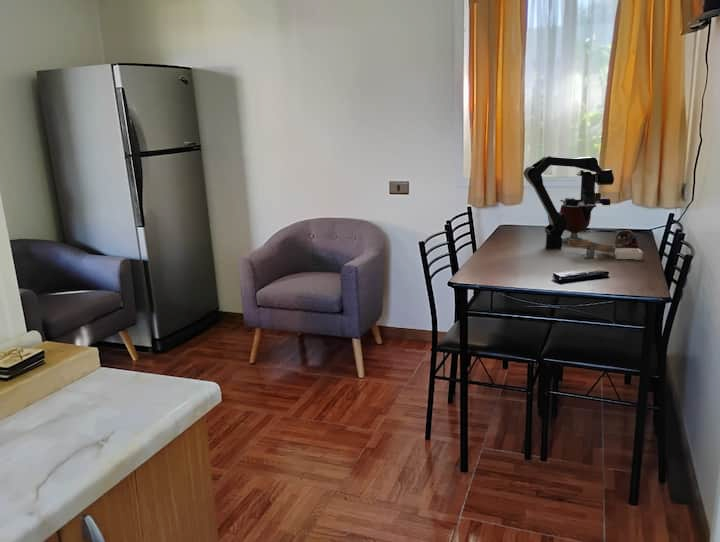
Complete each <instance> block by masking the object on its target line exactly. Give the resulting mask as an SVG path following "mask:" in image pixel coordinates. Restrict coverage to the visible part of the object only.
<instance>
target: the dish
mask: <svg viewBox="0 0 720 542" xmlns="http://www.w3.org/2000/svg"><path fill="white" fill-rule="evenodd" d="M615 248H616V247H615ZM633 249H634V248H629V247H628V248H625V247H624V248H618V247H617V248H616V249H615V253H612V256H614V257H615V258H616V259H635V260H634V261H643V260H644V252H643V251H642V249H640V248H635V249H636V250H638V252H631V251H632V250H633ZM614 257H613V258H614ZM615 258H614V259H615ZM616 259H615V260H616Z"/></svg>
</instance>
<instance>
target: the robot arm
mask: <svg viewBox="0 0 720 542" xmlns="http://www.w3.org/2000/svg"><path fill="white" fill-rule="evenodd" d="M550 166H556V167H558V166H559V167H572V168H577V169H579V170H580V169H581V170H580V171H578V173H576V176H579V177H581V181H580V182H581V183H580V198H579V199H575V197H565V198H564V200H563V201H564V203H563V204H565V205H574V204H578V205H577V206H578V207H580V208H581V210H582V212H583V216H584V219H585V221H587V220H588V217H589V215H590V213H591V214H592V211H593V209H594V208H597V204H601V205H602V206H611V199H610V198H609V197H601V192H596V189H595V187H596V184H597V186H612V185H613V184H614V181H615V177H614V173H613V169H602V168H601V167H600V165H599V161H598V159H597V158H596V157H592V156H583V157H582V156H581V157H580V156H579V157H574V158H572V157H562V156H561V157H560V156H550V155H549V156H548V155H545V156H543V157H542V158H541V159H540V160H538V161H536V162H534V163H533V164H532V165H530V166H527V167H526V168H524V170H523V176H524V178H525V179H526V181H527V182H528V183H529V184H530V186H532V188H533V189H534V191H535V193H536V195H537V196H538V199H539V201H540V203H541V204H542V206H543V209H544V210H545V212H546V215H547V221H548V225H547V226H546V227H544V230H543V231H544V233H545V245H544V247H545V249H546V250H562V247H563V241H562V237H563V233H564V232H565V231H567V230H566V228H567V223H566V222H568V221H567V220H566V219H565V217H564V214H563V213H560V211H557V209H556V207H555V205H554V202H553V201H552V199H551V197H550V195H549V193H548V190H546V187H545V186H544V180H543V175H542V174H543V173H545V171H547V169H548V168H550ZM585 170H586V171H585ZM585 204H586V205H587V204H588V205H587V212H586V206H585Z"/></svg>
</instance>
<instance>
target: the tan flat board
mask: <svg viewBox="0 0 720 542" xmlns="http://www.w3.org/2000/svg"><path fill="white" fill-rule="evenodd" d="M568 237H569V241H568V242H567V244H568V246H569V247H572V248H578V249H585V250H587V249H590V247H595V252H596V251H597V252H602V253H610V254H613V253H615V249H616V247H614V245H610V244H605V243H598V242H597V243H596V242H592V241H587V242H586V241H579V240H573V239H571V238H570V236H568Z"/></svg>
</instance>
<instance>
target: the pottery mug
mask: <svg viewBox="0 0 720 542" xmlns="http://www.w3.org/2000/svg"><path fill="white" fill-rule="evenodd" d="M614 237H615V240H614V245H615V247H618V245H624V244H627V243H628V245H636V247H639V241H638V239H637V238H638V237H637V235H636V234H635V233H634V232H632V231H631V230H630V229H624V230H620V231H619V232H617V233H616V234H615V236H614ZM619 237H620V238H619Z"/></svg>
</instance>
